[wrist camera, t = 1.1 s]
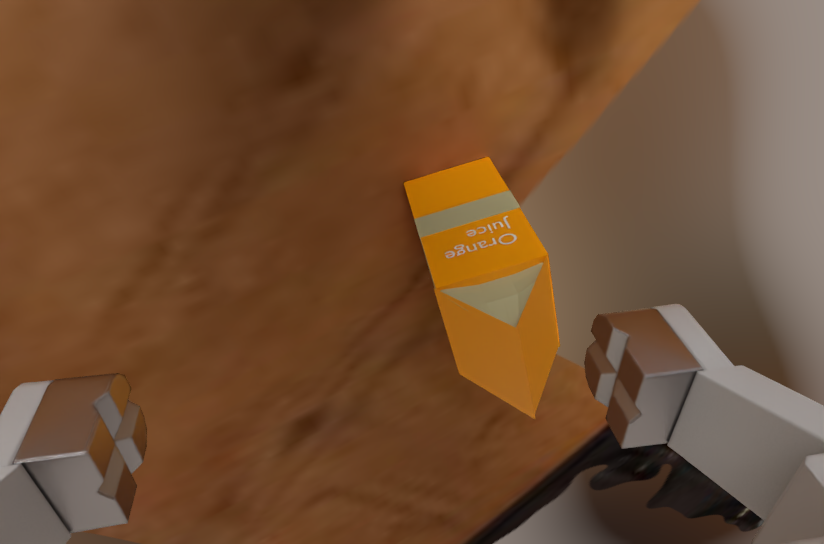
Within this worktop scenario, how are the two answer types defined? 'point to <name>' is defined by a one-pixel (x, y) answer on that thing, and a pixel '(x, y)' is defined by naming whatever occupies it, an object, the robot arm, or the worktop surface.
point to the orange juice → (488, 280)
